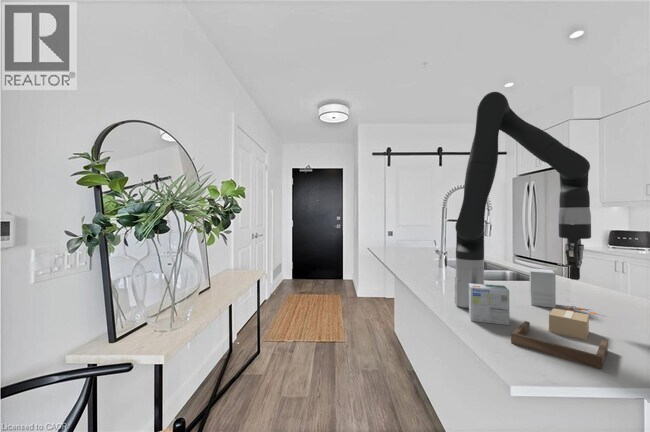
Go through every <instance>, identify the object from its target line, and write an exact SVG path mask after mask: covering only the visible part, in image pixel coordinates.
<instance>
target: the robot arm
mask: <svg viewBox="0 0 650 432" xmlns="http://www.w3.org/2000/svg"><path fill="white" fill-rule="evenodd" d="M500 132H503V133H504V134H506V135H507V136H508V137H510V138H512V139H513V140H514V141H516V142H517V143H518V144H519V145H521V146H522V147H523V148H524V149H526V150H527V151H528V152H529V153H531V154H532V155H533V156H535V157H536V158H537V159H538V160H540V161H541V162H542V163H543V162H544V163H546V164H548V166H550V167H551V168H552V169H554V171H556V172H557V173H558V174H559V185H560V186H559V188H560V191H559V201H558V202H559V206H558V207H559V210H558V237H559V238H561V239H567V243H565V245H564V249H565V250H564V252H565V254H566V255H565V256H566V263H567V266H568V267H569V279H570V280H571V281H574V280H575V281H579V280H580V279H581V266H582V264H583V258H584V250H585V244H582V240H587V239H589V240H590V239H591V238H592V215H591V214H592V213H591V206H590V205H591V203H590V201H591V200H590V191H589V187H588V186H589V173H590V169H591V164H590V162H589V160H588V159H587V158H586V157H584V156H583V155H582V154H580V153H578V152H577V151H575V150H573V149H572V148H569V147H568V146H565V145H564V144H563V143H562V142H561V141H559V140H557V138H555V137H553V136H552V135H551V134H550V133H548V132H546V131H544V130H543V129H541V128H540V127H537V126H535V125H533V124H531V123H529V122H527V121H525V120H524V119H523V118H521V117H520V116H519V115H518V114H516V113H515V111H513V109H512V108H511V107H510V104H509V101H508V98H507V97H506V96H505V95H504V94H503V93H501V92H499V91H490V92H488V93H487V94H485V95H484V96H482V98H481V99H480V101H478V105H477V108H476V122H475V130H474V137H473V140H472V144H471V149H470V152H469V157H468V161H467V164H466V169H465V178H464V187H463V198H462V199H463V200H462V204H461V208H460V212H459V214H458V217H457V220H456V223H455V226H454V229H455V231H456V244H455V245H456V246H455V277H454V303H455V305H456V307H457V308H458V307H459V308H463V309H468V310H469V283H472V284H485V214H486V207H487V201H488V198H489V195H490V192H491V190H492V187H493V184H494V180H495V178H496V171H497V167H498V161H499V159H498V158H499V134H500Z"/></svg>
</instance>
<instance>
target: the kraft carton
mask: <svg viewBox="0 0 650 432" xmlns="http://www.w3.org/2000/svg"><path fill="white" fill-rule="evenodd" d="M589 316H590V314H587V313H581V312H575V311H567V310H565V309H559V308H552V309H551V311H550V313H549V314H548V332H550V333H555V334H559V335H563V336H567V337H572V338H575V337H576V339H580V338H581V339H580V340H584V339H585V340H586V341H587V340H588V337H587V336H589V333H590V332H589V331H590V330H589V328H590V323H589V322H590V317H589ZM585 340H584V341H585Z"/></svg>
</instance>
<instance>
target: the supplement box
mask: <svg viewBox="0 0 650 432" xmlns="http://www.w3.org/2000/svg"><path fill="white" fill-rule="evenodd" d="M556 275H557V274H556V273H555V271H554V270H553V269H541V268H529V302H530V304H531V305H530V306H534V307H535V306H536V307H545V308H550V309H551V308H552V309H553V308H555V309H557V307H556V306H557V305H556V301H557V300H556V298H557V297H556V295H557V293H556V288H557V287H556V282H557V281H556V279H557V278H556Z"/></svg>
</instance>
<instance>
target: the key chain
mask: <svg viewBox="0 0 650 432" xmlns="http://www.w3.org/2000/svg"><path fill="white" fill-rule="evenodd" d="M556 306H557V307H558V308H561V309H562V308H563V309H564V310H566V311H573V312H575V310H577V311H586V312H589V314H593V315H597V316H600V317H605V318H606V317H607V316H606V315H603V314H600V313H597V312H595V311H591V309H590V308H585V307H584V308H583V307H577V306H574V305H573V306H572V305H571V306H570V305H563V304H557V305H556ZM557 307H556V308H557Z"/></svg>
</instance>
